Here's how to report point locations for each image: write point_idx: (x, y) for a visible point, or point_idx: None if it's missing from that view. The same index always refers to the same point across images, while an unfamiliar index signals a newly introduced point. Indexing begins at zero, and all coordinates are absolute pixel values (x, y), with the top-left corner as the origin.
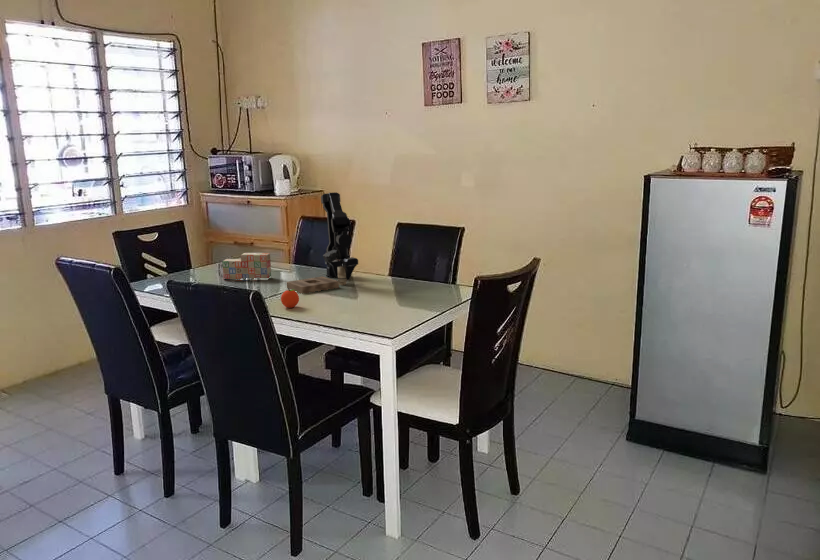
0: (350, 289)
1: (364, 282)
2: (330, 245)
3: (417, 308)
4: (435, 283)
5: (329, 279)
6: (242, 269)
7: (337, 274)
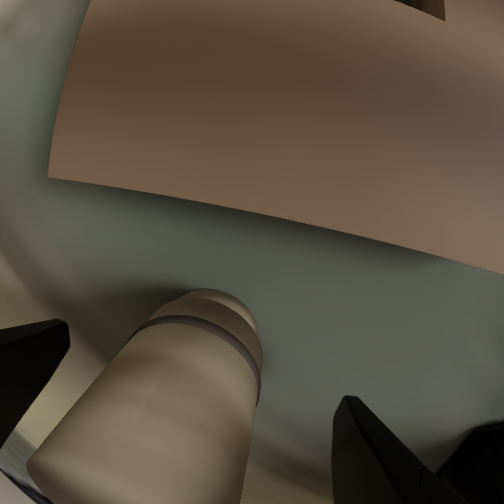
0: (7, 210)
1: None
2: None
3: None
4: (3, 465)
5: (259, 160)
6: None
7: (338, 435)
